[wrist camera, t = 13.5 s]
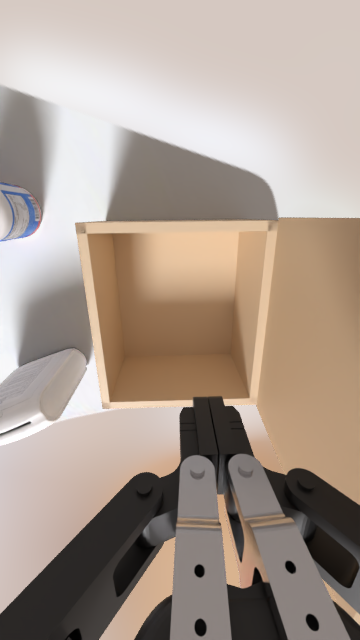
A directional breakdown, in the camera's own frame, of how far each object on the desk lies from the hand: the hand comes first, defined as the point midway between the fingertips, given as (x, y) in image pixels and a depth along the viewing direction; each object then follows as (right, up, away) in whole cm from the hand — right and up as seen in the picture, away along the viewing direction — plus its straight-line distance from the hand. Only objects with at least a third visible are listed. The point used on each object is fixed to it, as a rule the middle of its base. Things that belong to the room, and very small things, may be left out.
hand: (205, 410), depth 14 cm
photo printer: (-19, -2, +23) cm, 30 cm away
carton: (-2, +8, +20) cm, 21 cm away
